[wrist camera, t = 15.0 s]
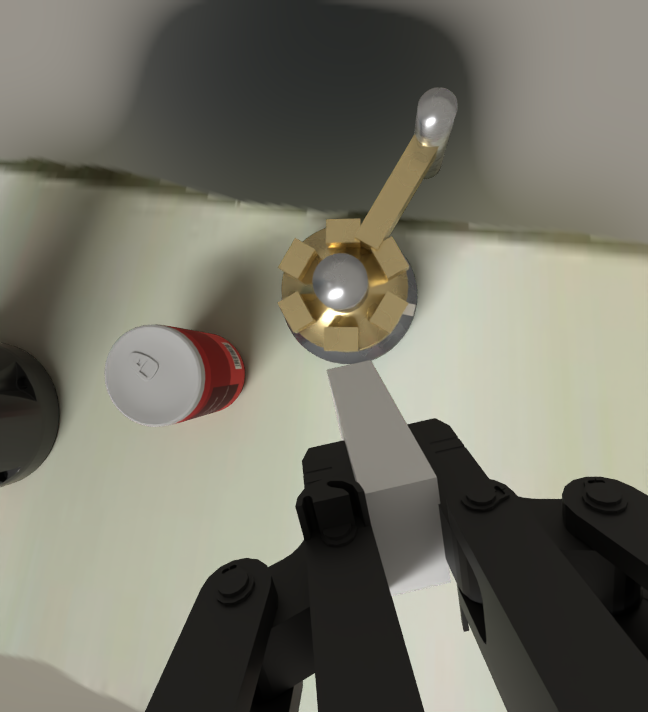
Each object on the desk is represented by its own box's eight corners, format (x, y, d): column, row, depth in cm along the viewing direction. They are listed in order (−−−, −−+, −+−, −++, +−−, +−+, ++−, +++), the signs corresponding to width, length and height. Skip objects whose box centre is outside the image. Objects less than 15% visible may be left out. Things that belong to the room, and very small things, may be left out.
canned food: (187, 322, 44) (122, 309, 33) (259, 350, 43) (217, 346, 32) (161, 394, 45) (88, 403, 34) (232, 423, 43) (181, 443, 33)
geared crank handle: (367, 373, 38) (362, 377, 30) (271, 316, 40) (240, 302, 31) (485, 178, 37) (515, 123, 29) (383, 125, 39) (382, 56, 30)
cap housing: (276, 347, 43) (267, 346, 40) (305, 226, 43) (298, 215, 40) (397, 377, 41) (398, 378, 38) (428, 252, 41) (432, 242, 38)
